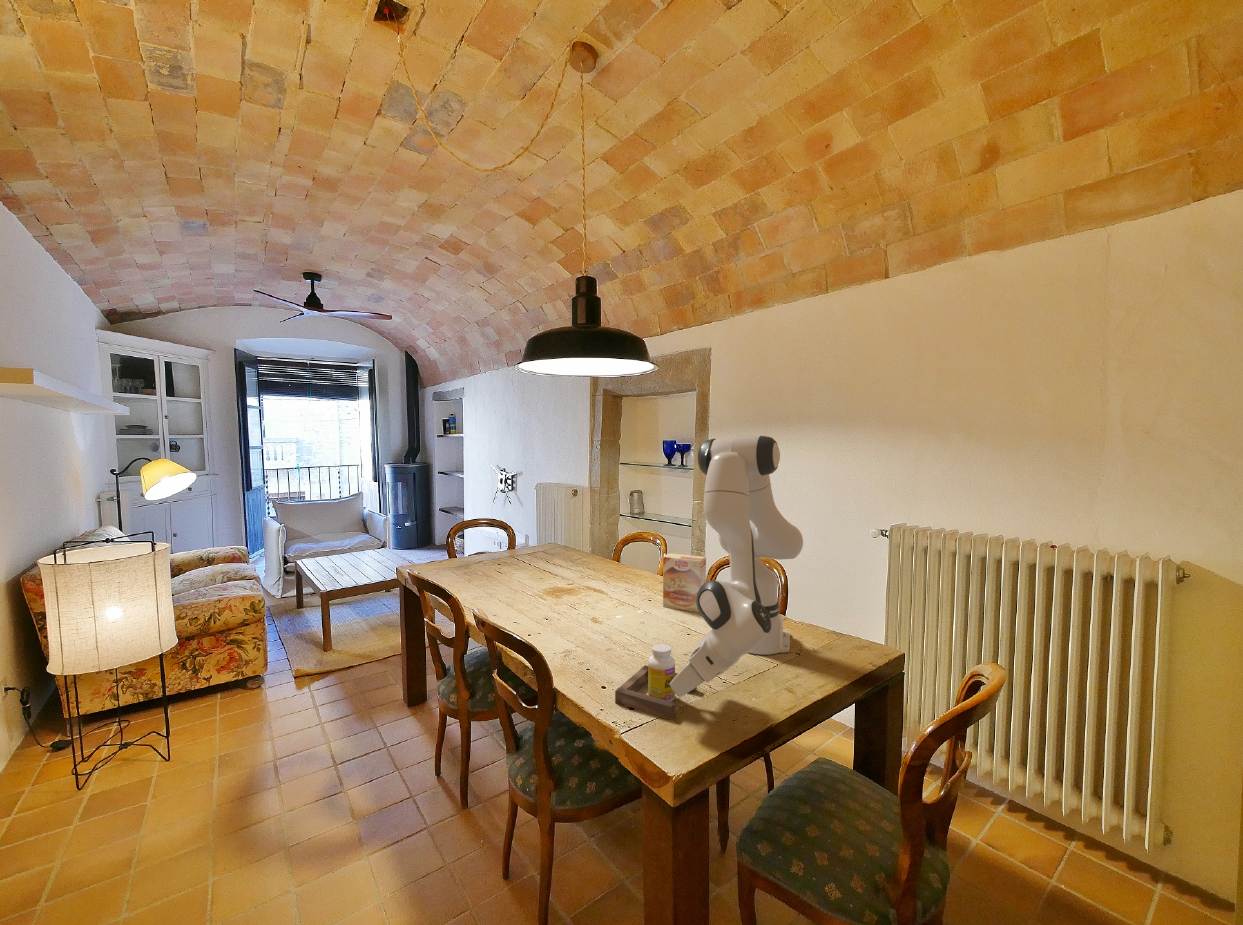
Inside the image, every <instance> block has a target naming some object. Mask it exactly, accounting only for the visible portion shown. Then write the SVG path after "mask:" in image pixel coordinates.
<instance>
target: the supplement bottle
mask: <svg viewBox="0 0 1243 925" xmlns="http://www.w3.org/2000/svg"><path fill="white" fill-rule="evenodd" d="M651 652H652V655H650V657H648V662H647V666H648V682H647V683H648V684H647V685H648V688H647V691H648V692H647V693H648V696H652V697H656V698H659V699H663V700H666V701H670V702H674V700H675V698H676V693H675V692H674V691H673V690H672V688H671V687H670V682H671V681H672V680H673V679H674V677H675V673H676V660H675V659H674V657H673V656H672V655H671V654H672V647H671V646H670V645H668V644H665V643H661V644H660V643H657V644H655V645H653V646H652V648H651Z"/></svg>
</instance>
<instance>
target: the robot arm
mask: <svg viewBox="0 0 1243 925" xmlns="http://www.w3.org/2000/svg"><path fill="white" fill-rule="evenodd" d="M780 460H781V451H780V448H779V445H778V442H777V441H776V440H775V439H774V438H773V437H771V436H767V435H766V436H765V435H760V436H753V435H737V436H731V437H723V438H717V439H716V438H711V439H708V440H705V441H703V442H702V443H701V444H700V446H699V447H698V450H697V464H698V468H699V469H700V472H701V473H703V474H704V475H705V476H706V478H705V482H704V483H705V484H704V493H703V503H702V504H703V514H704V518H705V520H706V522H707V523H708V525H709V526H710V528H712V529H713V530H714V531H715V532H716V533H718V541H719V543H720V546H721V548H722V550H724V551H725V552H727V553H728V555H729V574H730V575H729V576H730V582H727V581H722V580H708V581H707V580H706V583H704V584H703V585H702V586H701V587H700V589H699V591H698V593H697V598H696V604H697V608H698V611H699V612H698V613H699V614H700V616H701V617H702V618H703V620H704V621H705V622H706V624H707V625H708V626H709V627H710V628H711V630H710V631H709V632H708V633H706V634H705V635H704V636H703V637H702V638H700V639H699V641H697V643H696V646H695V648H694V651H693V652H692V654H691V655H690V657H689V658H688V661H687V663H686V664H685V666H684V667H683V668H682V669H681V670H680V671H679V672H678V674H677V675H676V676H675V677H674V679H673V680H672V681H671V682H670V687H671V688H672V690H673V691H674V692H675V696H677V697H683V696H684V695H686V694H688V693H689V692H690V691H691V690H693V689H694V688H696V687H697V688H698V687H699V686H701V685H702V684H703V683H709V682H711V681H712V680H714V678H716V677H717V676H719V675H722V674H724V673H725V672H726V671H728V670H729V669H730V668H731V667H733V666H735V665H736V663H738V662H739V660H740V658H742V656H745V655H748V654H755V655H766V656H767V655H774V654H779V653H789V652H790V650H791V633H790V631H789V630H786V629H784V618H783V617H782V616H781V614H780V604H779V602H780V598H779V597H778V586H779V585H778V578H777V575H776V574H775V572H774V571H772V570H771V569H770V568H768V567H767V566H766V565H765V564H764V563H763V562H762V559H763V558H764V559H771V560H772V559H773V560H794V559H796V558H797V557H798V556H799V555H800V554H801V552H802V550H803V546H804V538H803V535H802V533H801V531H800V530H799V528H798V527H796V526H795V525H793V524H792V523H790V522H789V521H788V520H787V519H786V518H785V517H784V516H783V515H782V513H781V512H780V510H779V509H778V508H777V505H776V503H775V500H774V495H773V489H772V484H771V478H770V477H771V476H770V475H771V474H773V473H774V472H776V471H777V470H778V468H779V463H780ZM761 558H762V559H761ZM690 693H691V692H690Z"/></svg>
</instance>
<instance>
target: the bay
mask: <svg viewBox="0 0 1243 925" xmlns="http://www.w3.org/2000/svg"><path fill="white" fill-rule="evenodd" d="M678 673H679V672H678ZM678 673H677V672H675V676H676V675H677V674H678ZM646 683H648V665H646V664H645V665H643V666H642V667H641V668H640V669H639V670H638V671H637V672H635V673H634V674H633V675H632V676H630V677H629V678H628V679H627V680H626V681H625V682H624V683H623V684H622V685H620V686H619V687H618V688H617V689H615V690H614V696H615V697H614V698H615V699H614V702H615V704H618V705H622V706H626V707H628V708H632V709H634V710H639V711H642V712H645V713H649V714H652V715H655V716H658V717H662V718H664V719H668V720H672V719H673V718H674V717H675V715H676V714H675V712H676V711H675V708H676V704H675V702H674V701H672V702H670V701H666V700H663V699H659V698H656V697H652V696H648V695H647V694H646V693H645V694H644V693H641V692H638V691H639V690H640V689H641V688H642V687H644V685H645V684H646ZM697 689H698V686H697V687H696V688H694V689H693V690H691V691H690V693H695V692H696V691H697Z"/></svg>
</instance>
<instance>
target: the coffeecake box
mask: <svg viewBox="0 0 1243 925" xmlns="http://www.w3.org/2000/svg"><path fill="white" fill-rule="evenodd" d="M662 558H663V559H662V561H663V562H662V563H663V564H662V565H663V566H662V568H663V569H662V571H663V572H662V582H663V583H662V607H664V608H669V609H675V610H681V611H690V612H695V613H700V612H699V611H698V608H697V604H696V598H697V593H698V591H699V589H700V587H701V586H702V585H703V584H704V583H706V582H707V579H706V578H707V557H706V556H700V555H699V556H698V555H692V554H691V555H690V554H682V553H672V552H670V553H667V554H665V555H663V557H662Z"/></svg>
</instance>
